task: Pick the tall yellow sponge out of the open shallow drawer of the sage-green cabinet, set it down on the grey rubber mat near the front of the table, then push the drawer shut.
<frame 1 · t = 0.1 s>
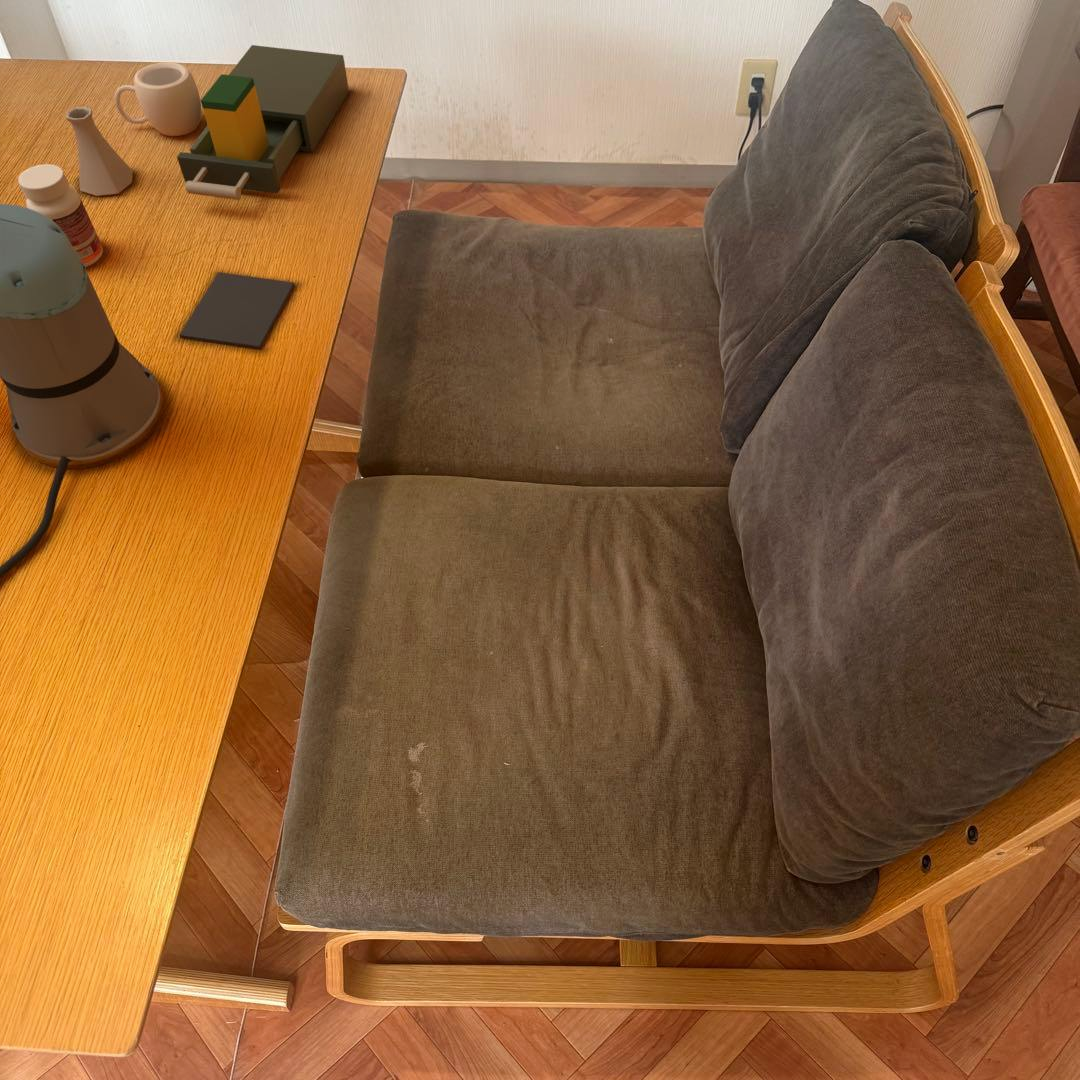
drawer: (242, 152, 124), point 3 cm above the table, slide at 11.0 cm, touching sponge
mug: (166, 128, 133), on the table
cabinet: (285, 115, 136), on the table
sponge: (245, 156, 125), point 2 cm above the table, touching drawer
mat: (239, 311, 109), on the table
flask: (107, 183, 125), on the table
pill bottle: (79, 257, 115), on the table
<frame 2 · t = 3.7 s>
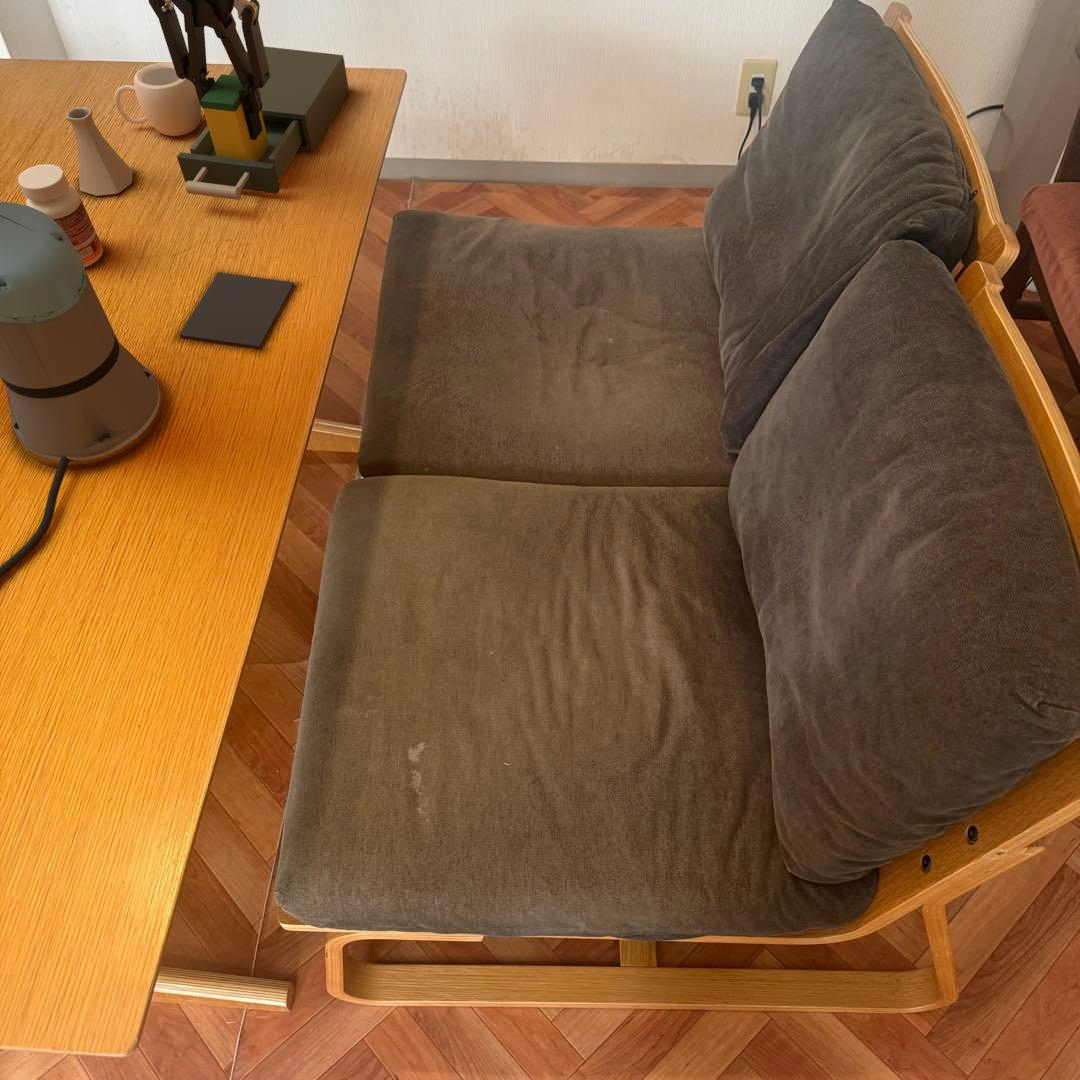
hand: (238, 131, 122), 6 cm above the table, tool pointing down, fingers closed on sponge, 4 cm apart
sponge: (245, 156, 125), point 2 cm above the table, touching drawer, gripper
everything else where it was.
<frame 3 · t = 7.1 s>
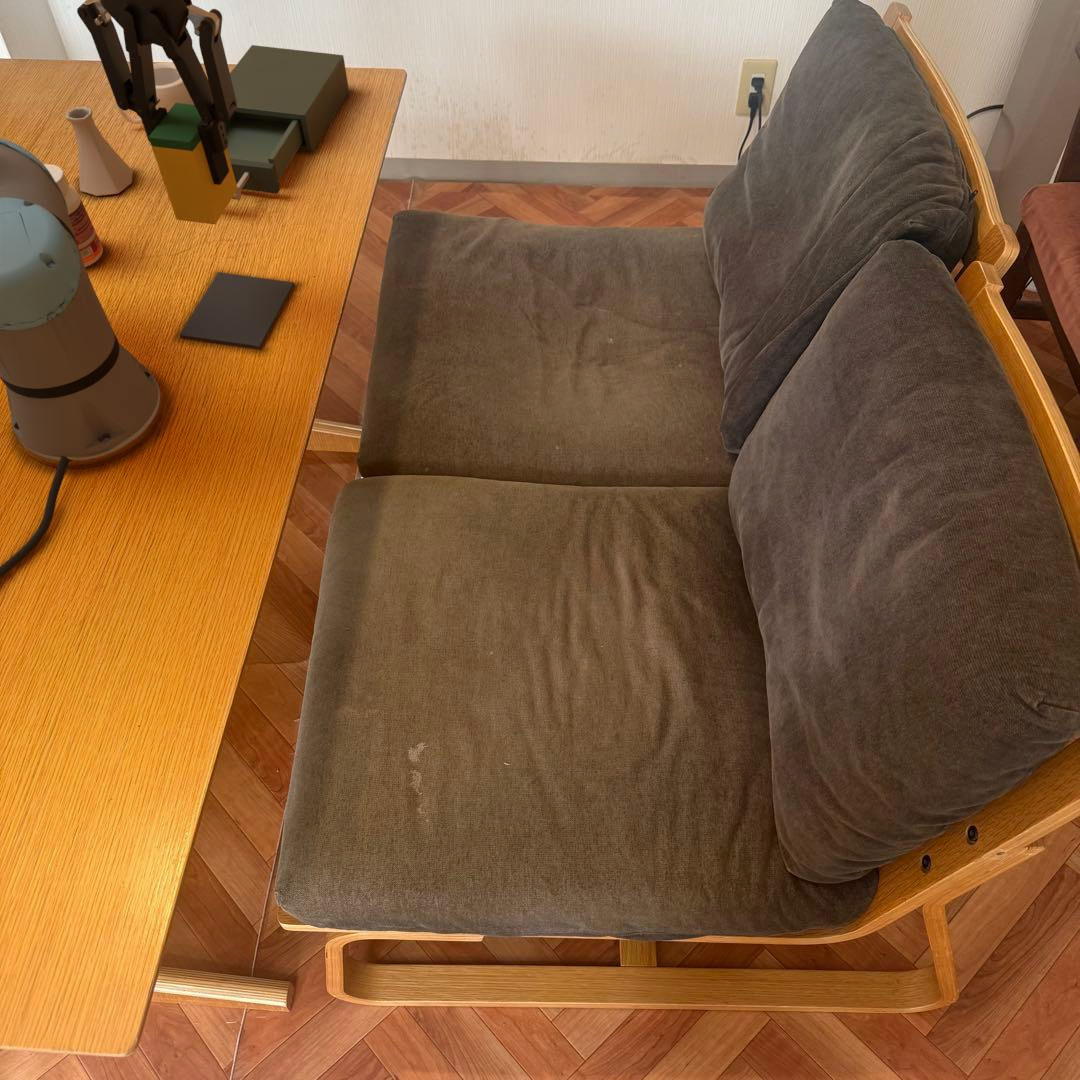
hand: (198, 174, 97), 16 cm above the table, tool pointing down, fingers closed on sponge, 4 cm apart
drawer: (242, 152, 124), point 3 cm above the table, slide at 11.0 cm
sponge: (207, 204, 100), point 13 cm above the table, touching gripper
everything else where it was.
when the fingers open (4 cm above the table, at t = 10.4 s): sponge stays where it is, resting on mat.
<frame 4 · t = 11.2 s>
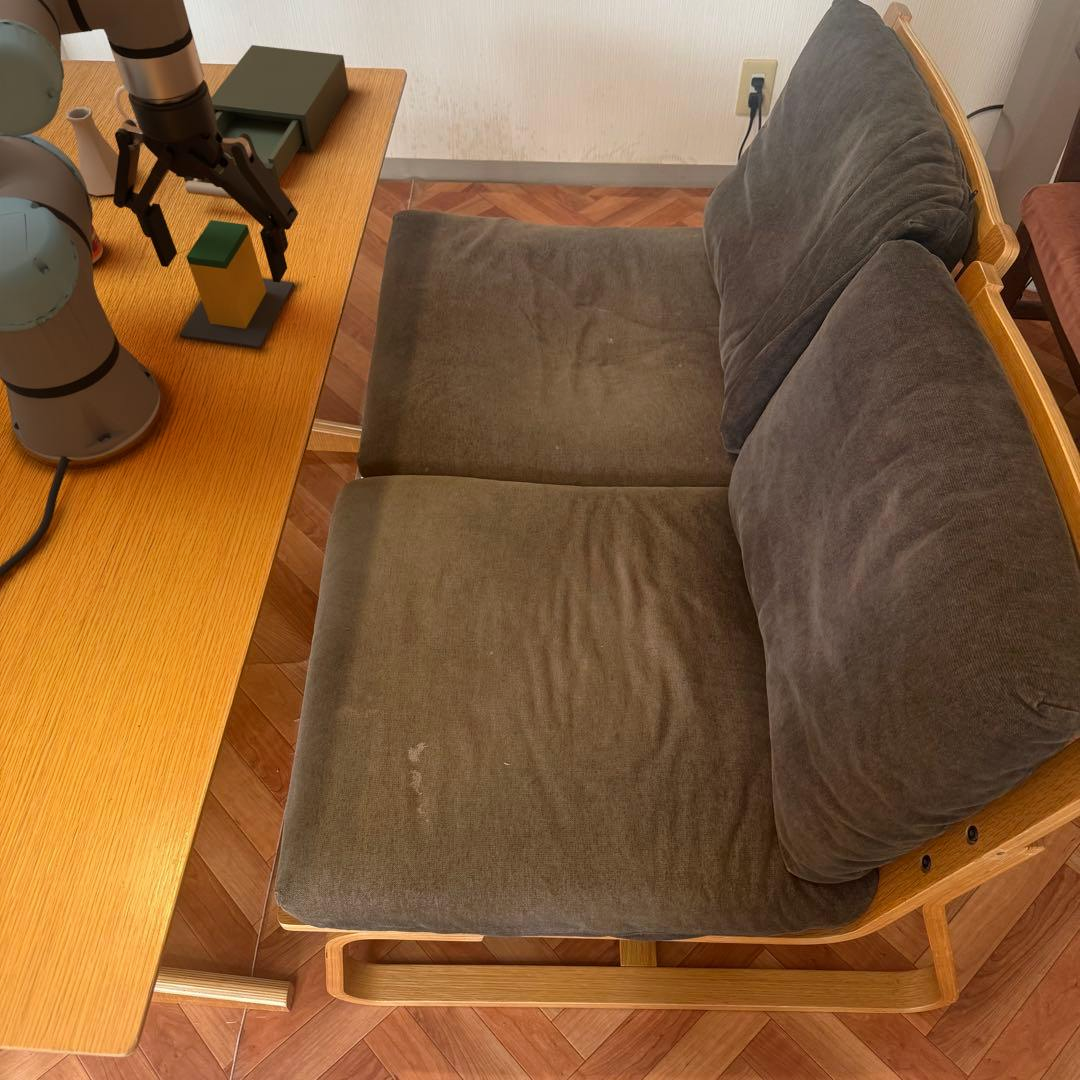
hand: (224, 267, 104), 6 cm above the table, tool pointing down, fingers open, 13 cm apart
sponge: (238, 307, 109), resting on mat
everything else where it was.
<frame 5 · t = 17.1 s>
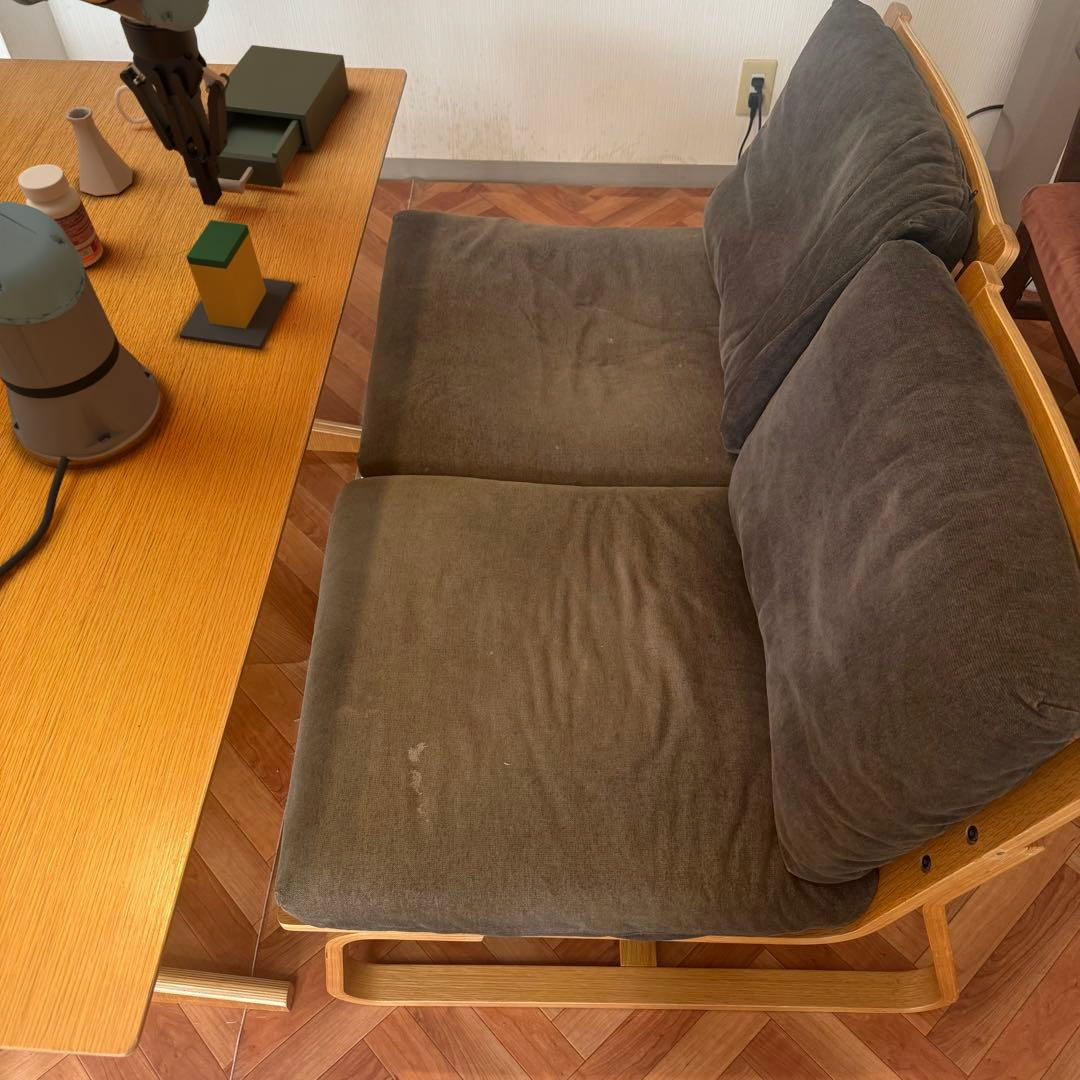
hand: (213, 199, 118), 3 cm above the table, tool pointing down, fingers closed
drawer: (246, 147, 125), point 3 cm above the table, slide at 9.6 cm, touching gripper
everything else where it was.
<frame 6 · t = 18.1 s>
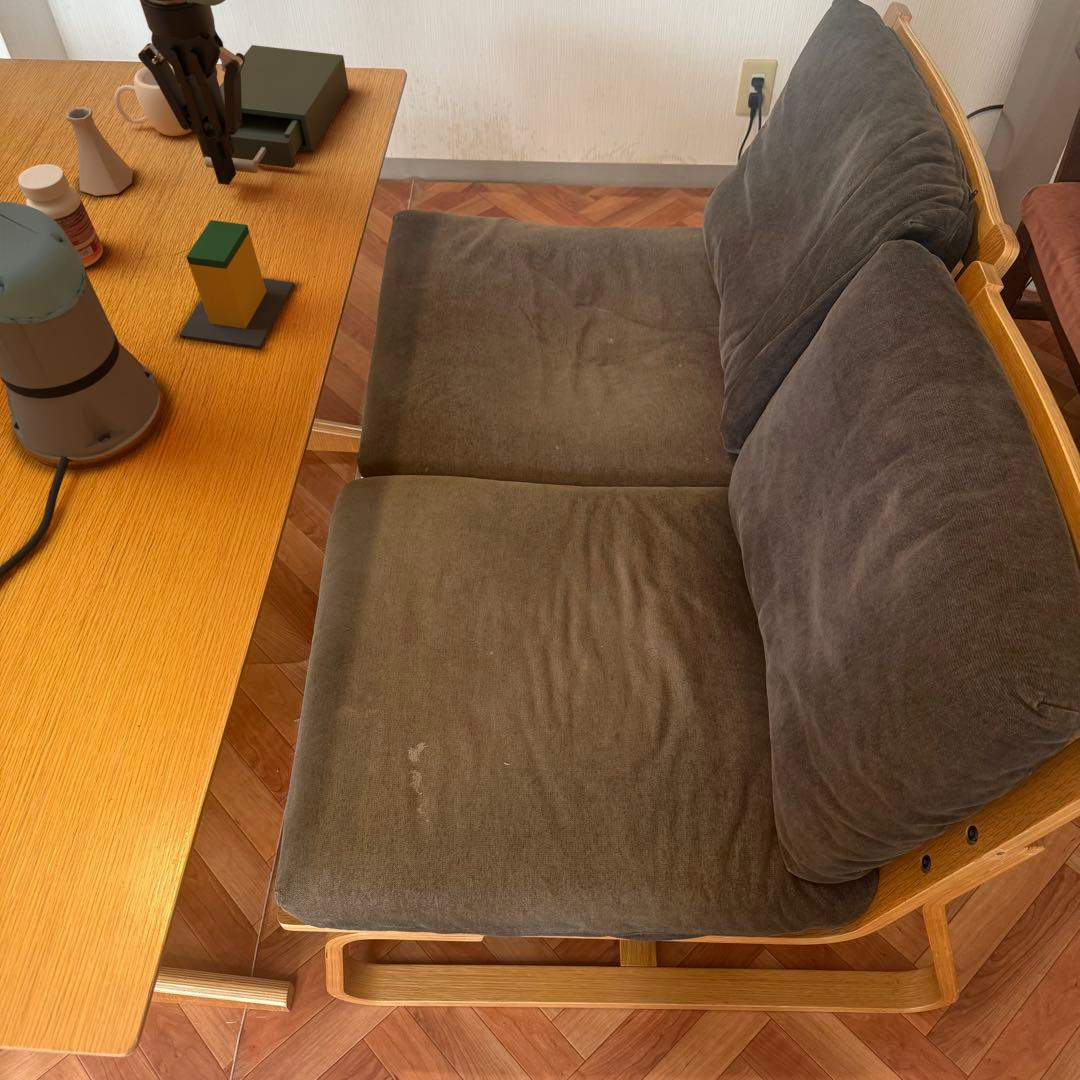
hand: (227, 178, 121), 3 cm above the table, tool pointing down, fingers closed
drawer: (259, 129, 128), point 3 cm above the table, slide at 4.7 cm, touching gripper
everything else where it was.
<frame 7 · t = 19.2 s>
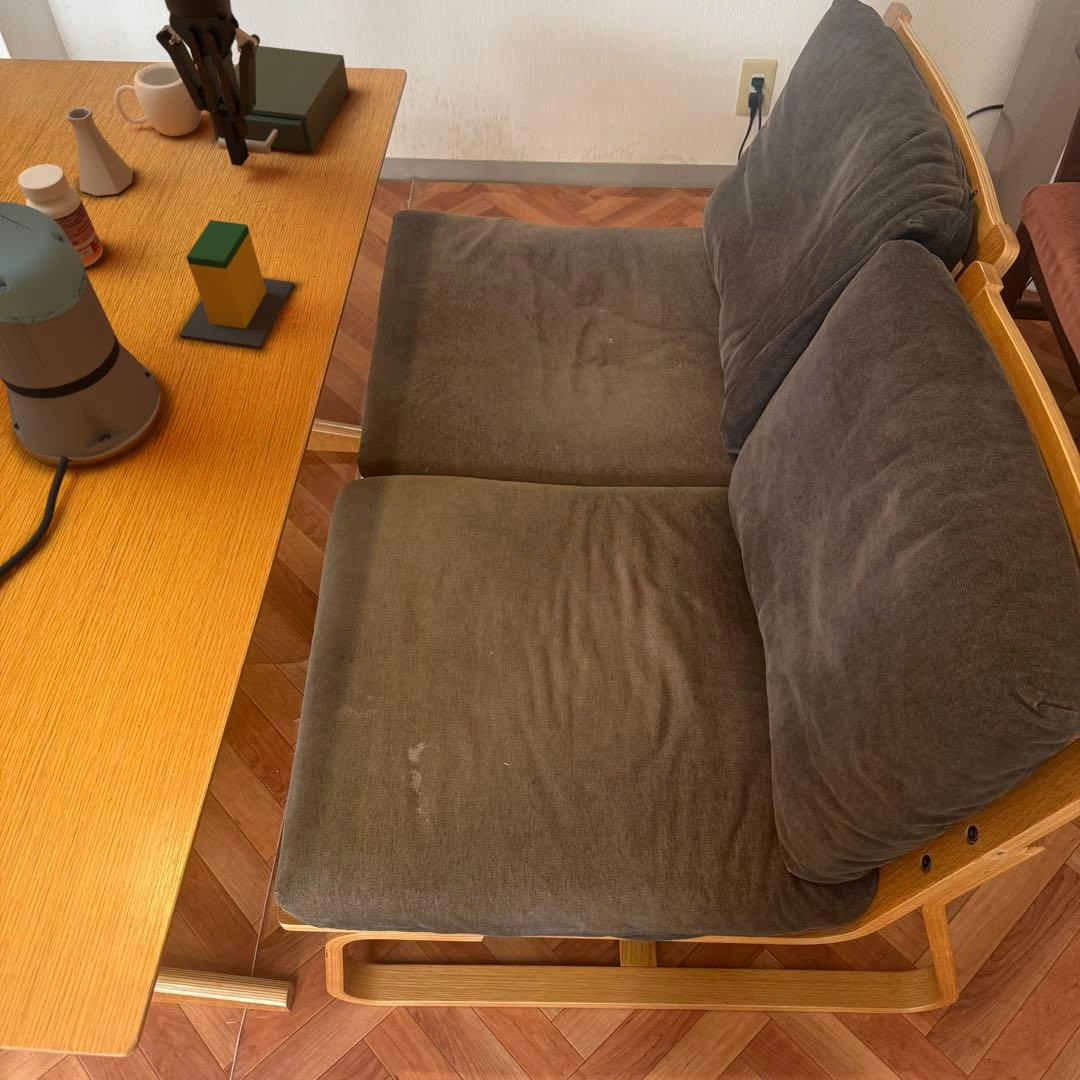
hand: (240, 160, 124), 3 cm above the table, tool pointing down, fingers closed
drawer: (270, 112, 131), point 3 cm above the table, slide at 0.0 cm, touching cabinet, gripper
everything else where it was.
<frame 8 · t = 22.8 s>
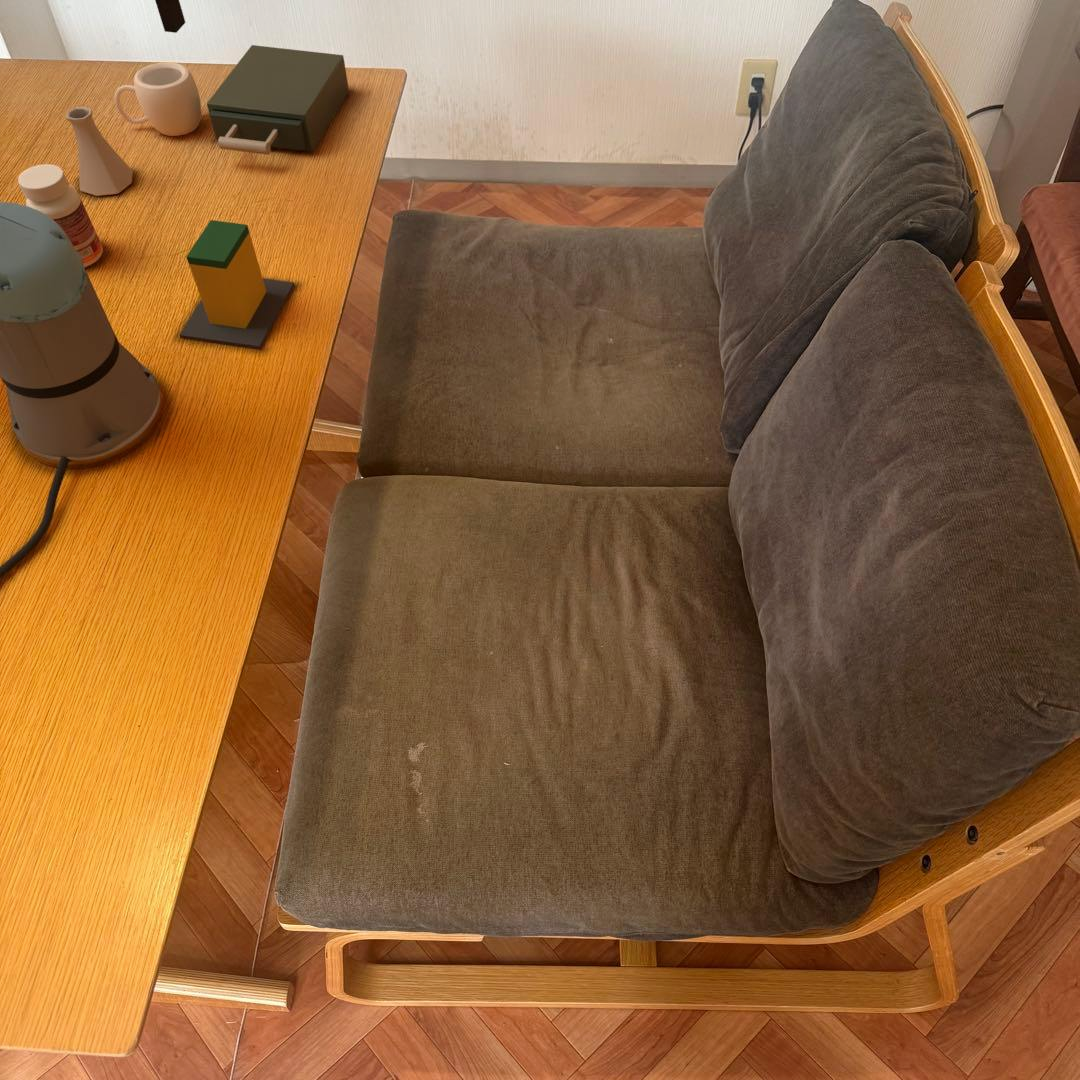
hand: (175, 26, 109), 20 cm above the table, tool pointing down, fingers closed
drawer: (270, 112, 131), point 3 cm above the table, slide at 0.0 cm, touching cabinet
everything else where it was.
at the end: sponge inside the target area on the mat (0.1 cm from its centre), point 0.5 cm above the mat's base; drawer slide at 0.0 cm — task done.
